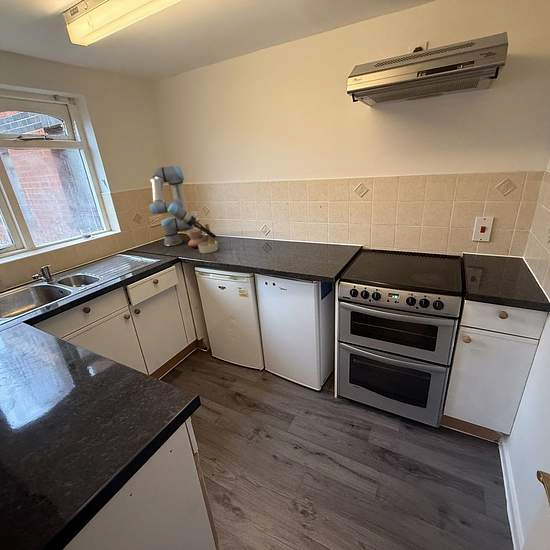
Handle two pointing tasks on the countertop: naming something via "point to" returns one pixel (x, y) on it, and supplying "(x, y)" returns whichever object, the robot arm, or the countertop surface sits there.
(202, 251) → the bowl
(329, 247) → the countertop surface
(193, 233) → the ceramic jug
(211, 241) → the brush
